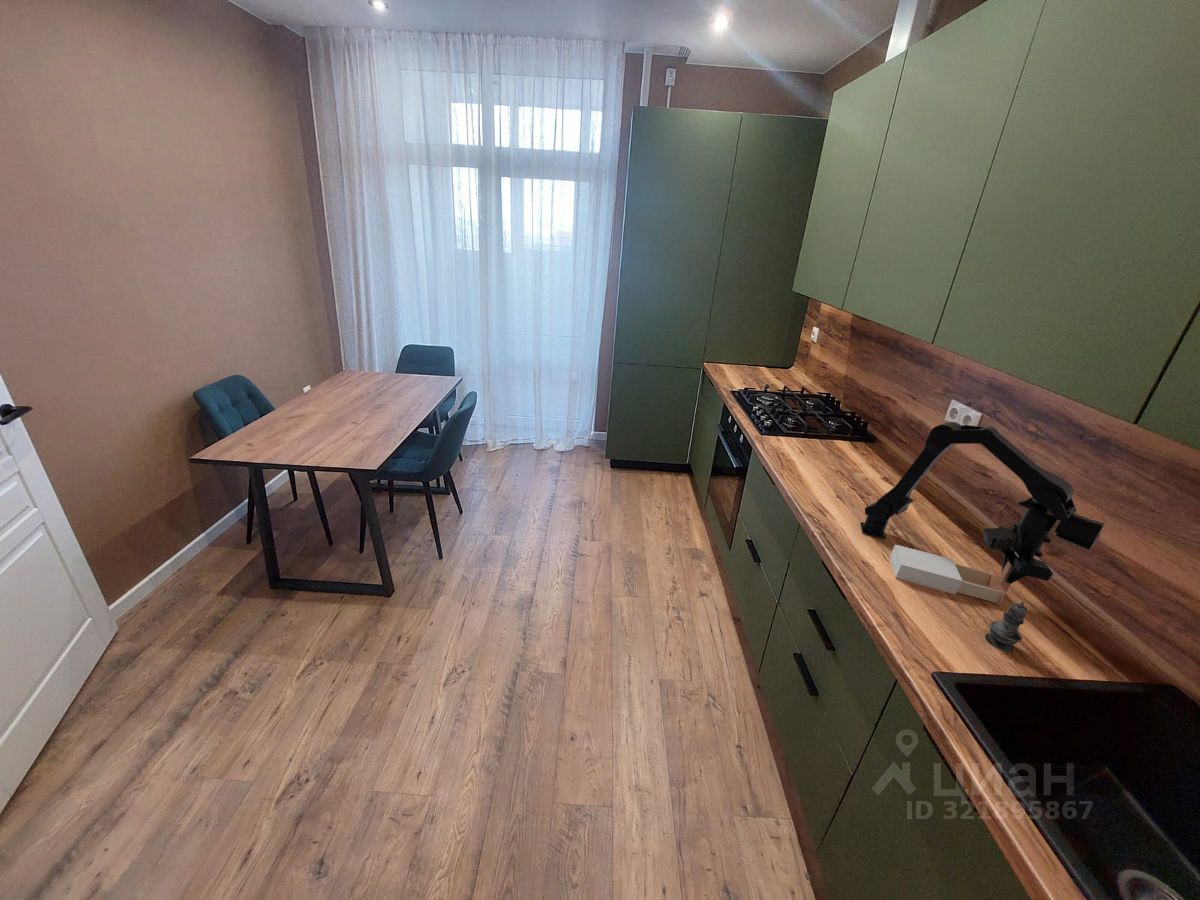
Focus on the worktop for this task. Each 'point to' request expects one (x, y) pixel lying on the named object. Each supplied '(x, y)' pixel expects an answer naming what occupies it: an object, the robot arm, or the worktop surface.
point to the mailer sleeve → (925, 569)
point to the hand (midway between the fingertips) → (1006, 578)
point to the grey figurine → (1007, 628)
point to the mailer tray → (984, 583)
